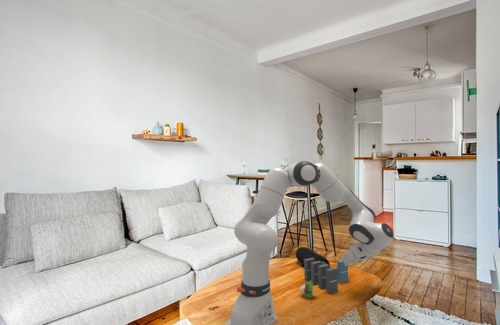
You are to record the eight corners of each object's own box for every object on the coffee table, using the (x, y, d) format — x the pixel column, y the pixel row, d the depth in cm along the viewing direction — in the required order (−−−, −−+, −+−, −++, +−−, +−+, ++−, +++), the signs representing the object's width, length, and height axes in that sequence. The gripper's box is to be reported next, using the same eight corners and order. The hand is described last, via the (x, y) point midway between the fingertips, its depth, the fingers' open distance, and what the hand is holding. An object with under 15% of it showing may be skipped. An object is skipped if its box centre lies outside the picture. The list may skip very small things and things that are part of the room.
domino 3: (329, 286, 143) (329, 265, 143) (321, 289, 140) (320, 267, 140) (327, 285, 145) (326, 263, 145) (318, 287, 142) (318, 265, 142)
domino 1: (315, 279, 153) (314, 258, 153) (307, 281, 150) (306, 260, 150) (312, 277, 154) (312, 257, 154) (304, 280, 152) (304, 259, 152)
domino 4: (337, 291, 138) (337, 268, 138) (329, 293, 135) (328, 270, 135) (334, 289, 140) (334, 267, 140) (326, 292, 137) (325, 269, 137)
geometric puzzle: (307, 285, 140) (302, 276, 136) (320, 289, 135) (315, 279, 131) (301, 299, 135) (296, 289, 132) (314, 303, 131) (309, 293, 127)
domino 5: (348, 281, 149) (347, 260, 149) (340, 283, 146) (340, 262, 146) (345, 279, 151) (344, 259, 151) (337, 282, 148) (337, 261, 148)
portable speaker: (294, 262, 179) (294, 246, 179) (308, 260, 182) (307, 244, 182) (316, 277, 155) (316, 259, 155) (331, 274, 158) (331, 257, 158)
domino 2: (322, 282, 148) (321, 261, 148) (314, 285, 145) (313, 263, 145) (319, 281, 149) (319, 260, 150) (311, 283, 147) (310, 262, 147)
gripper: (378, 239, 141) (362, 253, 150) (348, 246, 132) (334, 260, 140) (386, 250, 137) (370, 264, 146) (356, 258, 128) (340, 272, 136)
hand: (352, 262), depth 143 cm, fingers open, 8 cm apart
